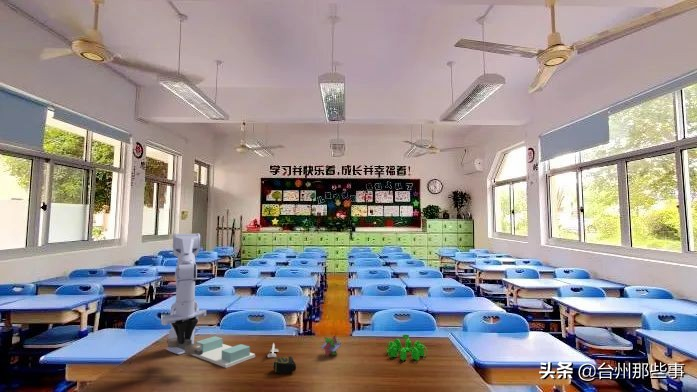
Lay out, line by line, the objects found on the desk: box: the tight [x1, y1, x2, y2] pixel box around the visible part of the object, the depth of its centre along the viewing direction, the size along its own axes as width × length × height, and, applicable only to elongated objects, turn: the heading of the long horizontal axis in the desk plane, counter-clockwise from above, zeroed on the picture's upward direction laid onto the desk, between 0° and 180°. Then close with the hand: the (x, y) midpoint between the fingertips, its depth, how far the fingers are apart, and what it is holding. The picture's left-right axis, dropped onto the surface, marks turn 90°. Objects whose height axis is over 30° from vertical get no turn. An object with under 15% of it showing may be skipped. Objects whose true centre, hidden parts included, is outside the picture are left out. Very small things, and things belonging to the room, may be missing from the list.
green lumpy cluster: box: [385, 334, 428, 362], centre depth 129 cm, size 15×15×7 cm
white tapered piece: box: [267, 342, 280, 358], centre depth 125 cm, size 15×7×4 cm, turn 2°
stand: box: [190, 335, 256, 369], centre depth 129 cm, size 22×12×4 cm, turn 54°
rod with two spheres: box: [166, 338, 203, 355], centre depth 118 cm, size 20×5×3 cm, turn 54°
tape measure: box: [272, 356, 297, 375], centre depth 115 cm, size 7×7×4 cm
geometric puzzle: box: [320, 335, 342, 358], centre depth 129 cm, size 7×7×8 cm
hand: (184, 342), depth 118 cm, fingers closed on rod with two spheres, 2 cm apart
